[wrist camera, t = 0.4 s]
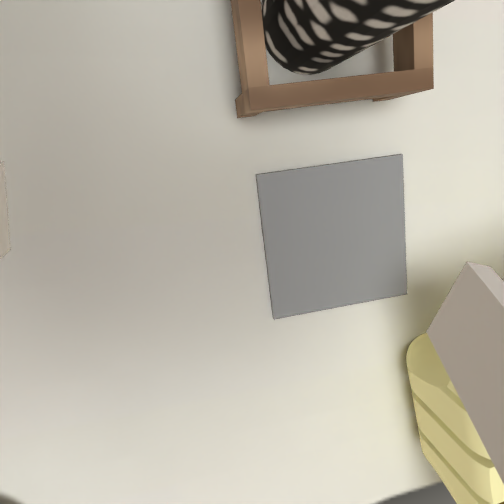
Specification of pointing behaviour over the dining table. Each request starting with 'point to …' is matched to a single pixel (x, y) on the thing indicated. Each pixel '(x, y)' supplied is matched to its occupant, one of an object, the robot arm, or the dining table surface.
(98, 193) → the dining table surface
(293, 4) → the spotted tube
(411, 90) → the square frame stand
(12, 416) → the dining table surface
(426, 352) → the slatted curved stool
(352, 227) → the mat
